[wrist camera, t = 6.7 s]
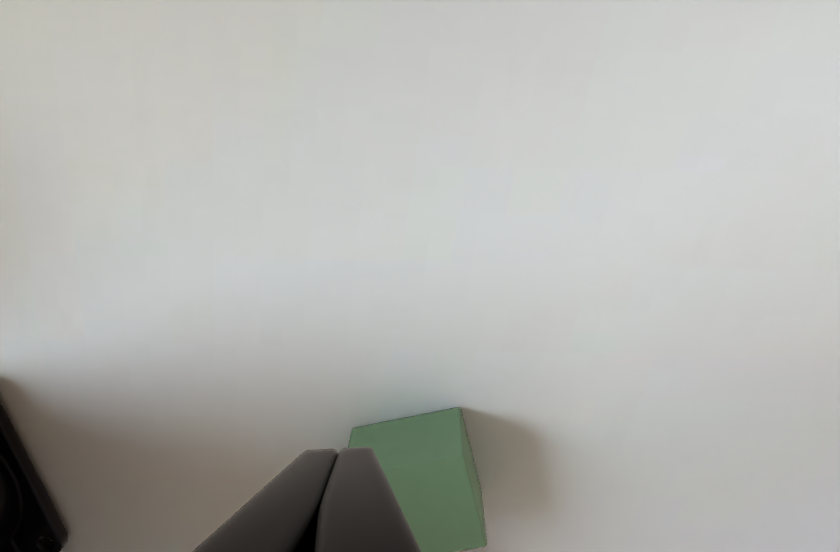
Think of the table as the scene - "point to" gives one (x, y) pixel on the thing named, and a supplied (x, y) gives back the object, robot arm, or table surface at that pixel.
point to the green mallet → (431, 477)
